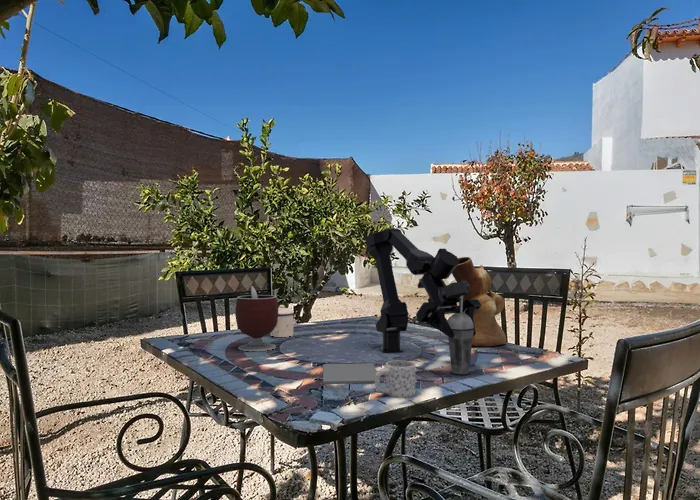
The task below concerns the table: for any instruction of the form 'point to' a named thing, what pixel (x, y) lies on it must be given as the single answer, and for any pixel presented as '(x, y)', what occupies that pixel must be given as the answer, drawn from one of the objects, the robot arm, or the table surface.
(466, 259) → the ceramic vessel
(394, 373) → the mug
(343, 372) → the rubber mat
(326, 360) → the table surface
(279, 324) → the teacup with lid
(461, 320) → the beverage cup
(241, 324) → the mate gourd
